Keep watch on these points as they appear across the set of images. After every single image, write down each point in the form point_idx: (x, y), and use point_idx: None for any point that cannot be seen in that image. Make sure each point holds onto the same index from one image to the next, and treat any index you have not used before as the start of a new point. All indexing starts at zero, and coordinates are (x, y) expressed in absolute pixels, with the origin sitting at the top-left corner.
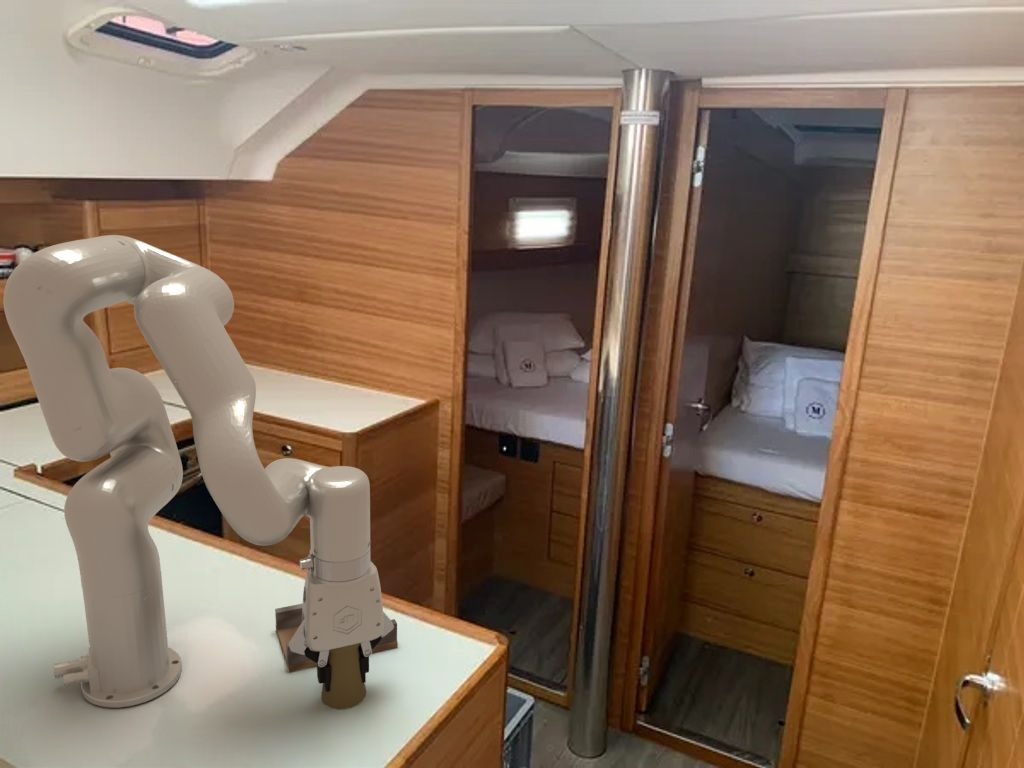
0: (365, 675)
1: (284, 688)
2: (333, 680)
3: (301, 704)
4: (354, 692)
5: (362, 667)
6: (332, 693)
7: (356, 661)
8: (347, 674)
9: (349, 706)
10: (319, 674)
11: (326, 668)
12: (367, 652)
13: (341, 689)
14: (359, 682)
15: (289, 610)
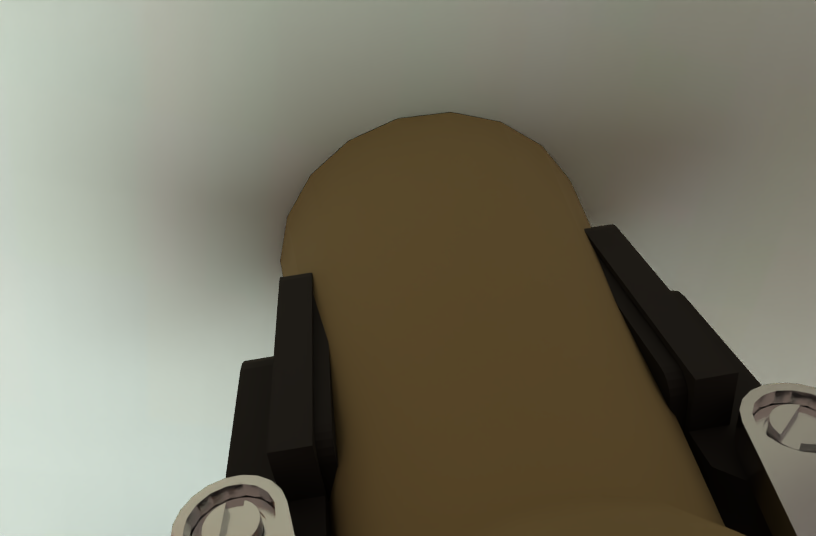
0: (278, 313)
1: (751, 368)
2: (591, 274)
3: (709, 222)
4: (384, 187)
5: (305, 370)
6: (563, 204)
7: (378, 421)
8: (476, 293)
9: (417, 123)
10: (722, 343)
11: (725, 362)
12: (234, 525)
13: (506, 203)
14: (338, 258)
15: None
